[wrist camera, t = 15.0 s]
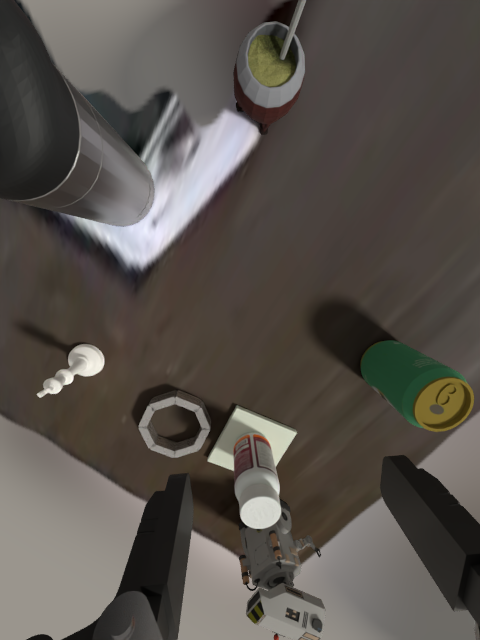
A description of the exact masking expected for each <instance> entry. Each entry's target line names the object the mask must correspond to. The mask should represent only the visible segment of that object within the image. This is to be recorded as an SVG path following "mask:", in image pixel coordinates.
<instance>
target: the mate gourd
mask: <svg viewBox="0 0 480 640" xmlns="http://www.w3.org/2000/svg"><path fill="white" fill-rule="evenodd" d="M305 2H306V0H299V1H298V4H297V7H296V10H295V12H294V15H293V18H292V21H291V24H290V27H288V26H286V25H284V24H281V23H279V22H267V23H262V24H261V25H259V26H258V27H256V28H255V29H253V30H252V31H250V32H249V33H248V35H247V36H246V38H245V39H244V41H243V42H242V44H241V45H240V49H239V52H238V55H237V60H236V64H235V68H234V93H235V98H236V100H237V103H236V108H237V111H244V112H245V113H246V114H247V115H248V116H249V117H250V118H251V119H252V120H255V121H257V122H259V123H260V130H261V134H262V135H265V134H267V130H268V127H269V126H270V124H271V123H273V122H275V121H277V120H278V119H280V118H281V117H283V116H284V115H285V114H287V113H288V111H289V110H290V109H291V107H292V106H293V105H294V103H295V102H296V100H297V99H298V97H299V93H300V90H301V87H302V83H303V80H304V73H305V59H304V52H303V49H302V47H301V44H300V42H299V39H298V37H297V36H296V35H295V34H294V32H295V29H296V27H297V24H298V21H299V19H300V16H301V13H302V10H303V8H304V5H305Z"/></svg>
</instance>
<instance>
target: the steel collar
mask: <svg viewBox="0 0 480 640" xmlns="http://www.w3.org/2000/svg"><path fill="white" fill-rule="evenodd" d="M173 404H176V405H179V406H181V407H184V408H186V409H189V410H191V411H194V412H195V414H196V416H197V418H198V421H199V423H200V425H201V427H200V428H199V430H198V432H197V434H196V436H195V437H192V438H189V439H186V440H183V441H180V442H174V441H172V440H169V439H166V438H164V437H161V436H158V434H157V432H156V430H155V428H154V426H153V424H152V422H151V420H150V419H151V417H152V415H153V413H154V411H155V410H158V409H161V408H164V407H167V406H170V405H173ZM210 428H211V419H210V417H209V414H208V412H207V409H206V407H205V405H204V402H203V400H202V401H201V399H200V398H197V397H195V396H193V395H190V394H188V393H185V392H183V391H180V390H178V392H177V390H174V391H171V392H168V393H165V394H162V395H159V396H155V397H153V398H152V399H151V401H150V403H149V405H148V407H147V409H146V411H145V413H144V415H143V417H142V419H141V422H140V424H139V430H140V432H141V434H142V436H143V438H144V440H145V442H146V444H147V446H148V448H150V450H153V451H156V452H158V453H161V454H164V455H167V456H169V457H172V458H174V456H175V458H177V457H180V456H183V455H186V454H189V453H193V452H196V451H198V450H199V449H200V448H201V446H202V445H203V443H204V441H205V439H206V437H207V435H208V433H209V432H210Z"/></svg>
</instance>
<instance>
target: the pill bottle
mask: <svg viewBox="0 0 480 640" xmlns="http://www.w3.org/2000/svg"><path fill="white" fill-rule="evenodd" d="M233 455H234V482H235V483H234V486H235V495H236V498H237V500H238V501H239V507H240V517H241V520H242V521H243V522H244V524H246V525H247V526H249V527H251V528H255V529H263V528H267V527H270V526H272V525H273V524H275V523H276V522H277V521H278V519H279V518H280V515H281V506H280V500H279V491H280V486H279V480H278V476H277V472H276V467H275V463H274V459H273V454H272V450H271V446H270V443H269V441H268V439H267V438H266V437H265V436H263V435H261V434H259V433H246V434H244V435H242V436H241V437H239V438H238V440H237V441H236V442H235V445H234V449H233Z"/></svg>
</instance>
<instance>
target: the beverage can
mask: <svg viewBox="0 0 480 640" xmlns="http://www.w3.org/2000/svg"><path fill="white" fill-rule="evenodd" d="M360 367H361V374H362V376H363V378H364V380H365V381H366V382H367V383H368V384H369V385H370V386H371V387H372V388H373V389H374V390H375V391H376V392H377V393H379V394H380V395H381V396H382V397H383V398H384V399H385V400H386V401H387V402H388V403H389V404H390V405H392V406H393V407H394V408H395V409H396V410H397V411H398V412H399V413H400V414H401V415H402V416H403V417H404V418H406V419H407V420H408V421H409V422H410V423H411V424H413V425H415V426H417V427H420V428H425V429H427V430H430V431H437V432H440V431H446V430H449V429H452V428H454V427H456V426H457V425H459V424H460V423H461V422H463V421H464V420H465V419H466V417H467V416H468V415H469V413H470V412H471V410H472V407H473V404H474V394H473V391H472V389H471V387H470V386H469V385H468V384H467V382H466V380H465V378H464V377H463V376H462V375H461V374H460V373H459V372H457V371H455V370H453V369H451V368H449V367H447V366H445V365H444V364H442V363H440V362H438V361H436V360H434V359H432V358H430V357H428V356H426V355H424V354H422V353H420V352H418V351H416V350H414V349H412V348H410V347H408V346H407V345H405V344H403V343H401V342H398V341H394V340H388V341H381V342H378V343H375V344H373V345H372V346H370V347H369V348H368V349H367V350H366V351H365V353H364V354H363V356H362V359H361V363H360Z"/></svg>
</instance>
